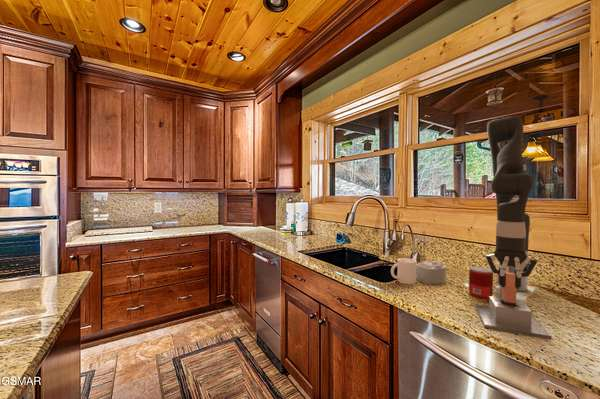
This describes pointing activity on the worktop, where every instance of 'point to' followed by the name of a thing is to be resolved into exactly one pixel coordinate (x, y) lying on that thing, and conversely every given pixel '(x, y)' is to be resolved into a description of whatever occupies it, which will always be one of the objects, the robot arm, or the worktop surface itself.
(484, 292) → the canned food
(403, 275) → the mug
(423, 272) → the lumpy-topped squat cylinder
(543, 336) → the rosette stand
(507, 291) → the stepped block
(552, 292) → the worktop surface
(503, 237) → the robot arm
